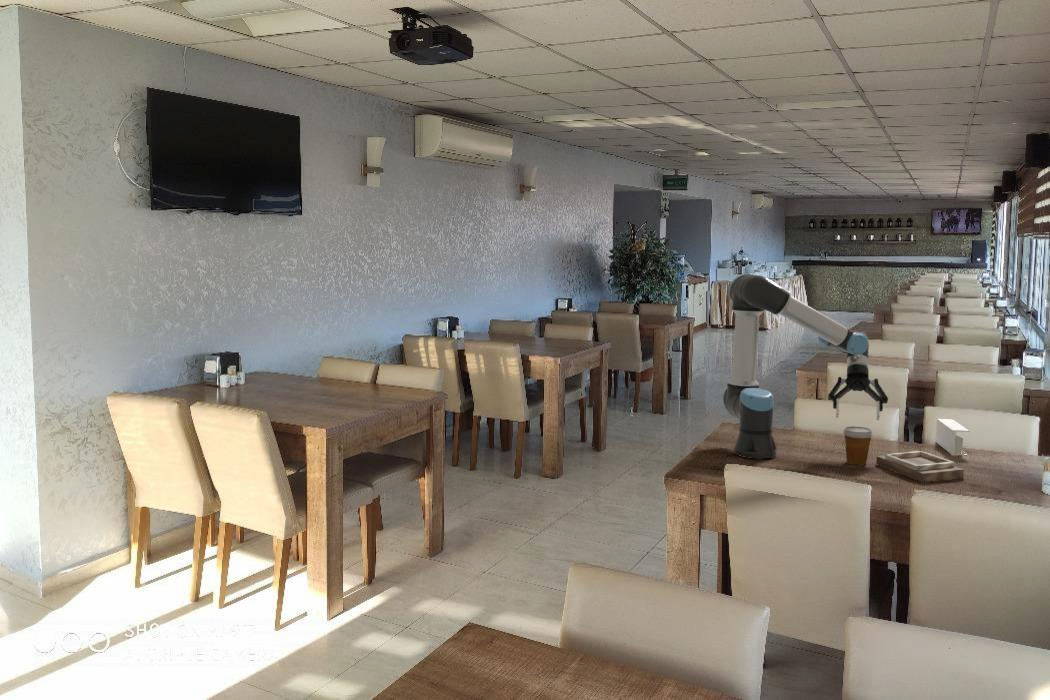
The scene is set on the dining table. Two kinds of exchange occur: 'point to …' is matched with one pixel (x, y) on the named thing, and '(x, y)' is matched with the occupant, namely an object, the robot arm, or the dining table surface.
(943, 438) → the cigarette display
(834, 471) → the dining table surface
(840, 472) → the dining table surface
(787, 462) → the dining table surface
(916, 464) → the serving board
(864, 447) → the disposable coffee cup
